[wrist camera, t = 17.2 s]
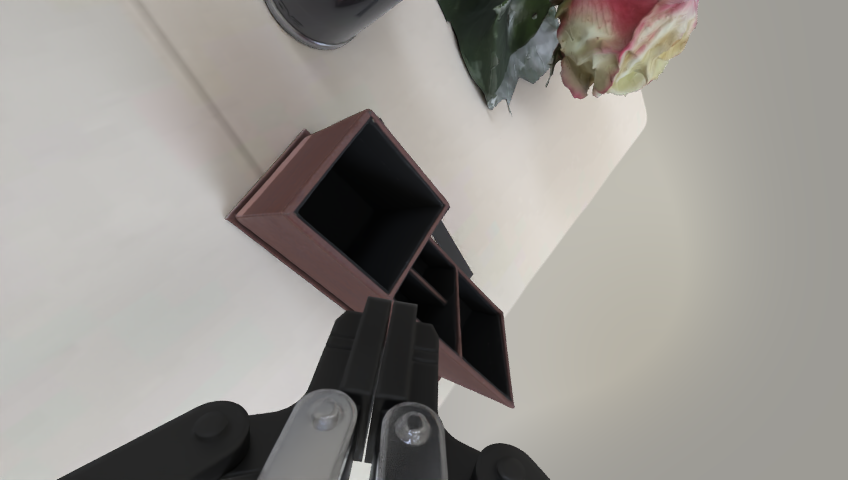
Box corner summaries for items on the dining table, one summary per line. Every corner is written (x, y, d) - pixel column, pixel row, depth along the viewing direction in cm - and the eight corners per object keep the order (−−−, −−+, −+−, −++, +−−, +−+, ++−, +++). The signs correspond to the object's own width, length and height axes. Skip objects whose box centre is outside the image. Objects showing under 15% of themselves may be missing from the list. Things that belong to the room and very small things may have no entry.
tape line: (379, 118, 40) (380, 117, 40) (472, 274, 49) (473, 274, 49) (366, 128, 39) (367, 127, 39) (463, 285, 49) (464, 285, 48)
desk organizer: (302, 128, 35) (370, 96, 26) (475, 305, 50) (554, 321, 41) (222, 218, 31) (270, 215, 22) (435, 380, 46) (514, 416, 37)
